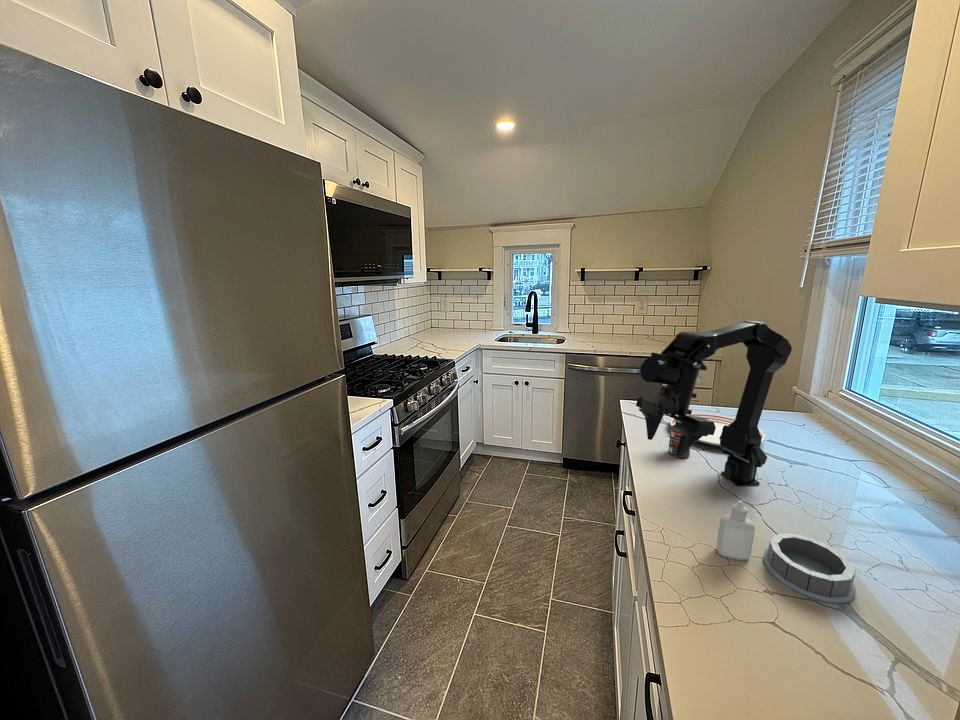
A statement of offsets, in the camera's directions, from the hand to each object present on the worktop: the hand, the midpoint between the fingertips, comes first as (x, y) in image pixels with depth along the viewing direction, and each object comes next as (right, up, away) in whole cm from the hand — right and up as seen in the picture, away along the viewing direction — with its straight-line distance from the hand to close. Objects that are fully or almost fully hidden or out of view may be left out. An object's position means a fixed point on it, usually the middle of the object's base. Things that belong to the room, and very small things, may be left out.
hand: (663, 447), depth 90 cm
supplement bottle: (+17, -8, +25) cm, 32 cm away
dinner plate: (+36, -5, +38) cm, 53 cm away
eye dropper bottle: (+7, -18, -15) cm, 24 cm away
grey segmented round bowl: (+17, -19, -20) cm, 32 cm away
